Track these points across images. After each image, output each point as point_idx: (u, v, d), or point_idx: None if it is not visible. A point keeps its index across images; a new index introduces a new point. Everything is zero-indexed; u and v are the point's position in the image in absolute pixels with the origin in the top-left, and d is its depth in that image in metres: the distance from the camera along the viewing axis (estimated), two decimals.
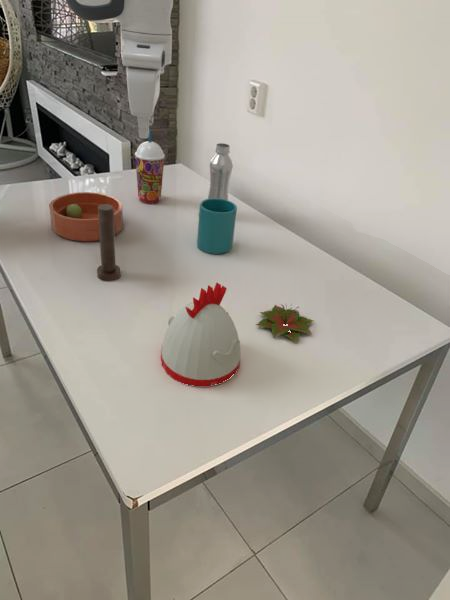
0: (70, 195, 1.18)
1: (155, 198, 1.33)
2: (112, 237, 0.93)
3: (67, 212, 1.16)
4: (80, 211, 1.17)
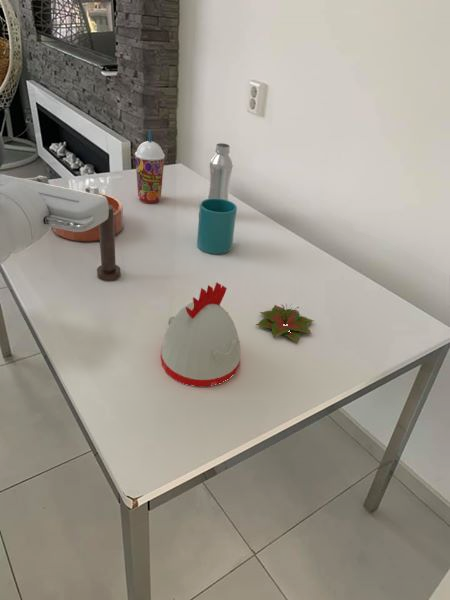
0: None
1: (155, 198, 1.33)
2: (112, 237, 0.93)
3: None
4: None
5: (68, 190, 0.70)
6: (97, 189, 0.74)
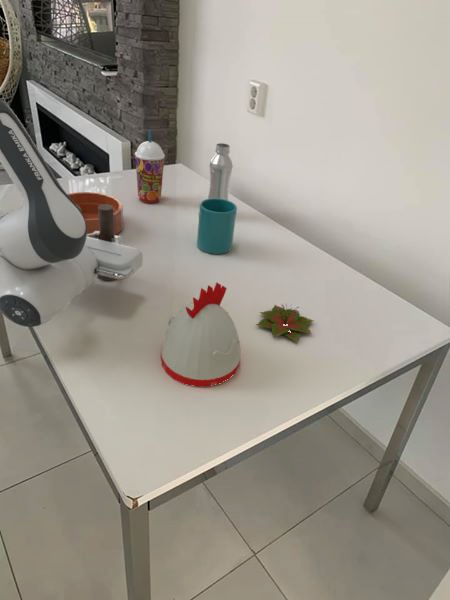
0: (70, 195, 1.18)
1: (155, 198, 1.33)
2: None
3: None
4: None
5: (110, 244, 0.88)
6: (120, 238, 0.94)
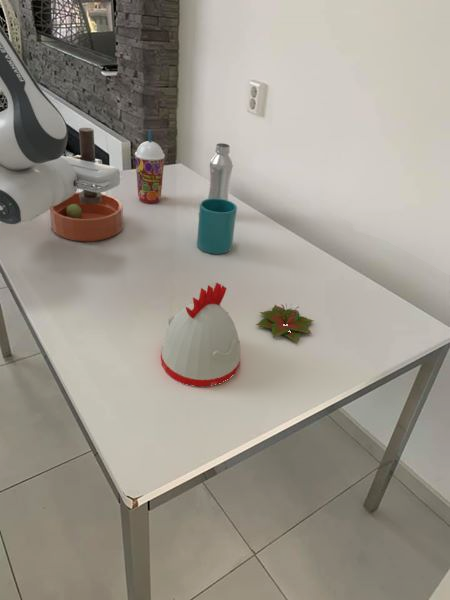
0: None
1: (155, 198, 1.33)
2: None
3: (67, 212, 1.16)
4: (80, 211, 1.17)
5: (90, 163, 0.94)
6: (100, 161, 1.00)
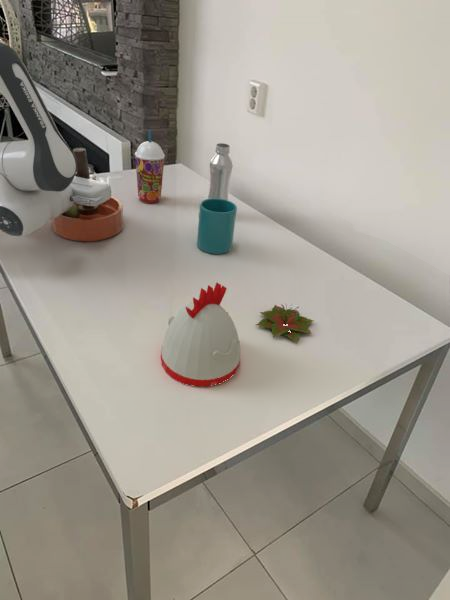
0: None
1: (155, 198, 1.33)
2: None
3: (65, 213, 1.16)
4: (78, 210, 1.17)
5: (85, 179, 1.07)
6: (94, 177, 1.12)
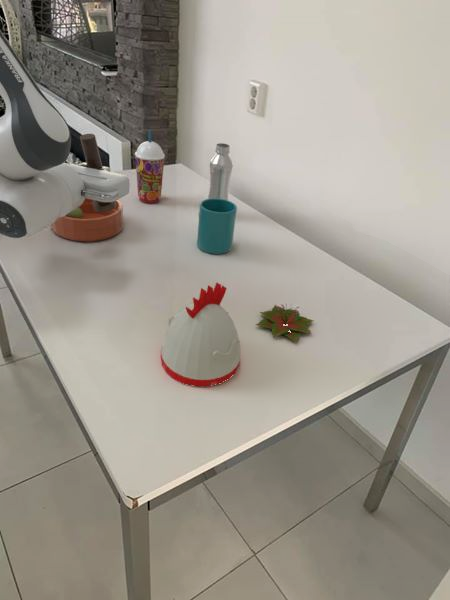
0: None
1: (155, 198, 1.33)
2: (99, 167, 0.94)
3: (67, 215, 1.15)
4: None
5: (98, 170, 0.89)
6: (109, 168, 0.94)
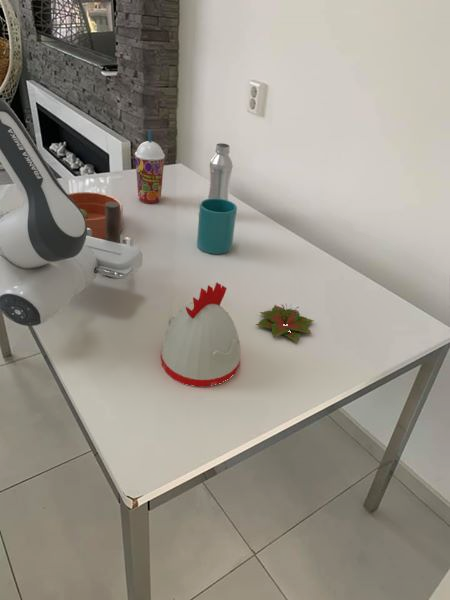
0: (70, 195, 1.18)
1: (155, 198, 1.33)
2: (117, 234, 0.94)
3: None
4: None
5: (110, 243, 0.88)
6: (131, 239, 0.93)
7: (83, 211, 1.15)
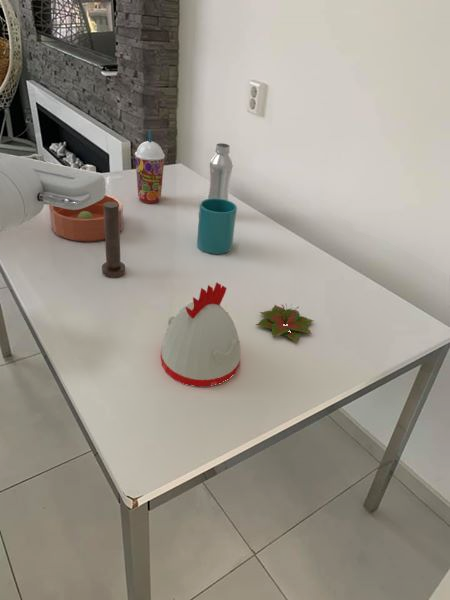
0: None
1: (155, 198, 1.33)
2: (116, 235, 0.94)
3: None
4: None
5: (63, 167, 0.67)
6: (94, 167, 0.72)
7: None
